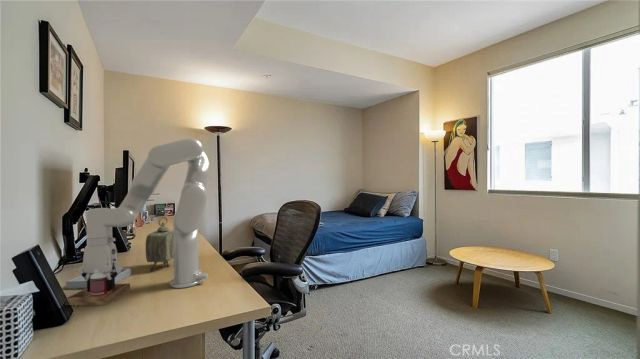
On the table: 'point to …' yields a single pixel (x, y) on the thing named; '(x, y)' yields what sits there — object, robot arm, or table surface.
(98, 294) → the pill bottle
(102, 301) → the walnut frame
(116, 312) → the table surface
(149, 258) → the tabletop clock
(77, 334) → the table surface
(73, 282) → the slate tray
